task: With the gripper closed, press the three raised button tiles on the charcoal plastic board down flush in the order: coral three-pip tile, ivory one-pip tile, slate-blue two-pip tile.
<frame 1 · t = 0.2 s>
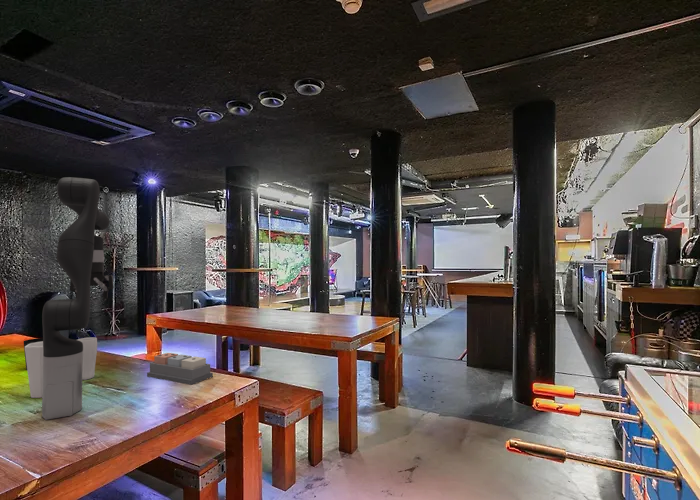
hand: (91, 300, 146), 29 cm above the table, fingers open, 8 cm apart
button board: (179, 376, 137), on the table
tile 3pip coral: (166, 359, 141), point 6 cm above the table, slide at 0.0 cm
cup: (35, 368, 151), on the table
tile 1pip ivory: (193, 363, 134), point 6 cm above the table, slide at 0.0 cm
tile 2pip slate: (179, 361, 138), point 6 cm above the table, slide at 0.0 cm
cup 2: (45, 394, 120), on the table
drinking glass: (85, 378, 137), on the table
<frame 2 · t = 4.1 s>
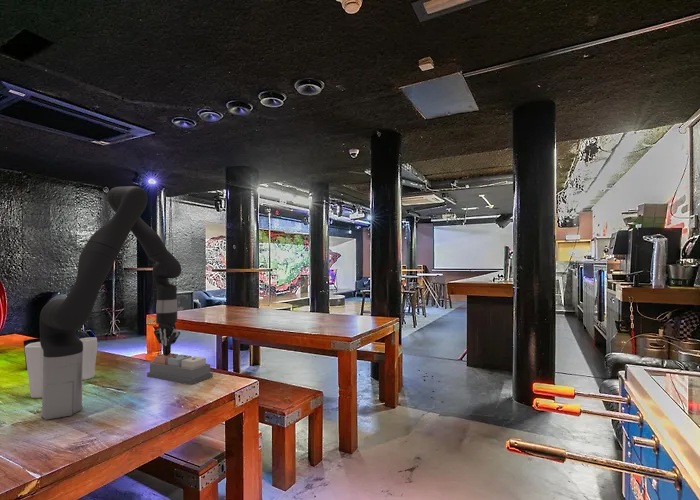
hand: (166, 354, 141), 8 cm above the table, fingers closed
tile 3pip coral: (166, 359, 141), point 6 cm above the table, slide at 0.1 cm, touching gripper
everything else where it was.
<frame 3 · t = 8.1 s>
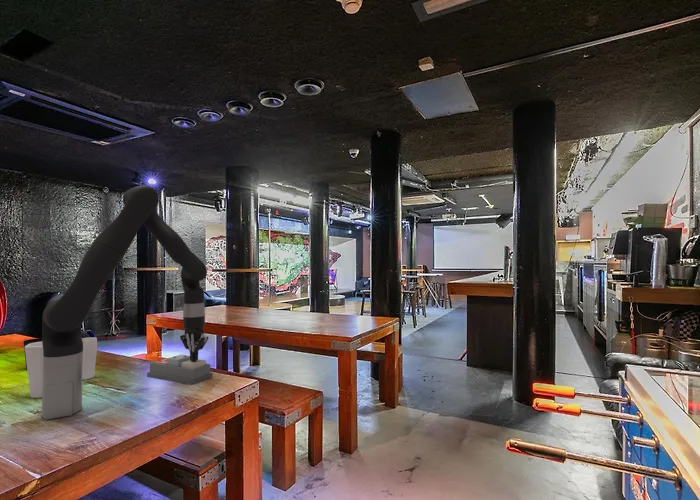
hand: (194, 360, 135), 7 cm above the table, fingers closed
tile 3pip coral: (166, 365, 141), point 4 cm above the table, slide at 2.3 cm
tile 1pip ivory: (193, 365, 134), point 5 cm above the table, slide at 0.9 cm, touching gripper
everything else where it was.
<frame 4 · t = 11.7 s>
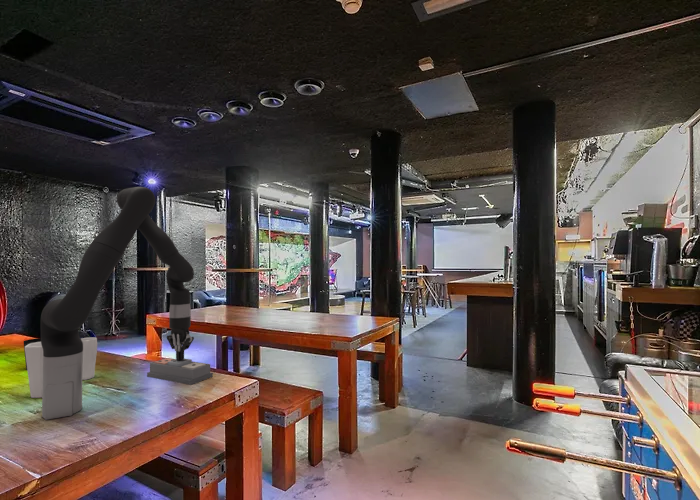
hand: (180, 360, 138), 6 cm above the table, fingers closed
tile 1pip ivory: (193, 369, 134), point 4 cm above the table, slide at 2.3 cm
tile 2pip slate: (179, 365, 138), point 4 cm above the table, slide at 1.4 cm, touching gripper
everything else where it was.
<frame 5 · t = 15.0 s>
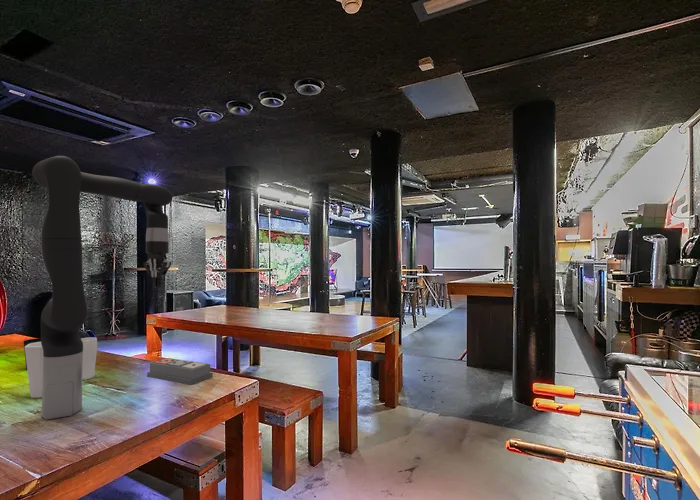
hand: (156, 287, 132), 35 cm above the table, fingers closed
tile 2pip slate: (179, 366, 138), point 4 cm above the table, slide at 2.1 cm
everything else where it was.
at the end: tile 3pip coral slide at 2.3 cm; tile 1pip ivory slide at 2.3 cm; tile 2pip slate slide at 2.1 cm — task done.
